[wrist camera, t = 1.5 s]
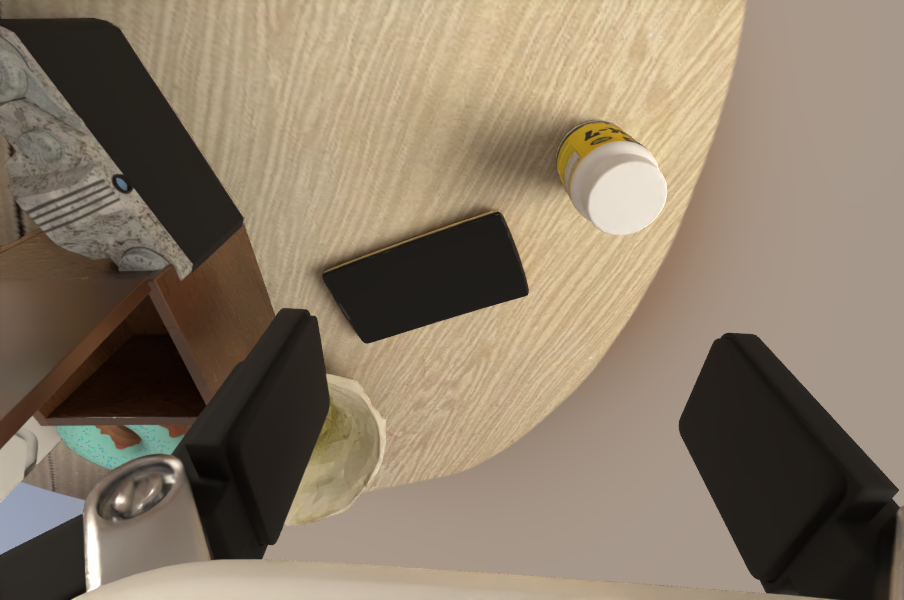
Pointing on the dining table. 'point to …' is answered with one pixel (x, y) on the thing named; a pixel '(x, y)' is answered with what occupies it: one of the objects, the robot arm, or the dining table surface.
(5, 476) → the grey square panel
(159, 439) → the donut
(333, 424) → the bowl
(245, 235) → the chest
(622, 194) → the supplement bottle
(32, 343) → the lid
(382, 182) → the dining table surface
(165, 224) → the camera
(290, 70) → the dining table surface
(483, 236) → the smartphone
